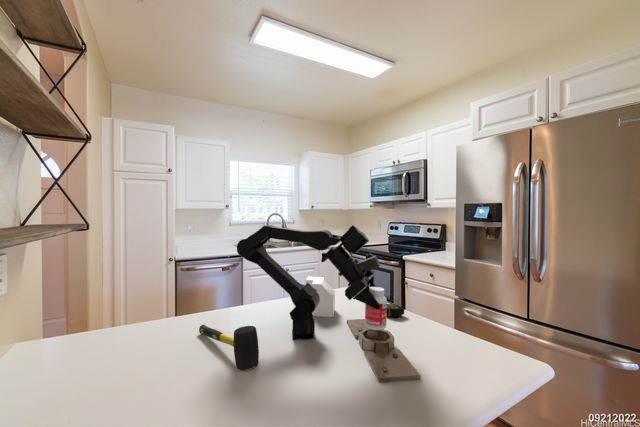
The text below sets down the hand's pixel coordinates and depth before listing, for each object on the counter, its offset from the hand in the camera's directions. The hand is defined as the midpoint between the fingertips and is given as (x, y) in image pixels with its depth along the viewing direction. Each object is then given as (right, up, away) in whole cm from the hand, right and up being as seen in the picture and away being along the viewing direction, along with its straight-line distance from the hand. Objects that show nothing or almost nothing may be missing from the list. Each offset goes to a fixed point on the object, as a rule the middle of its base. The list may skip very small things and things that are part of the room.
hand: (380, 304), depth 79 cm
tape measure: (+10, -12, +24) cm, 29 cm away
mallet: (-45, -12, -2) cm, 46 cm away
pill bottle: (-1, -7, +1) cm, 7 cm away
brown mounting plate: (-1, -12, +1) cm, 12 cm away
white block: (-18, -12, +28) cm, 35 cm away
